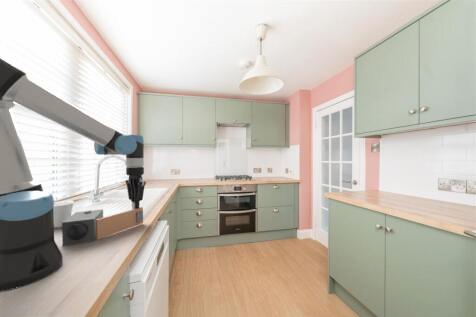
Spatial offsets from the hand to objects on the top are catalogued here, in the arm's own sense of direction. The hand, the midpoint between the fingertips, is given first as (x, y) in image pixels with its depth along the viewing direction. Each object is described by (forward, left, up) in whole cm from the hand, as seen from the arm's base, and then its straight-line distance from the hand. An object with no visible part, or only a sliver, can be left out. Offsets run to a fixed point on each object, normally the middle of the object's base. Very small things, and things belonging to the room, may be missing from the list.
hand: (135, 214), depth 91 cm
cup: (+15, +34, -6) cm, 38 cm away
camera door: (-6, +5, -5) cm, 9 cm away
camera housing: (-5, +19, -5) cm, 20 cm away
